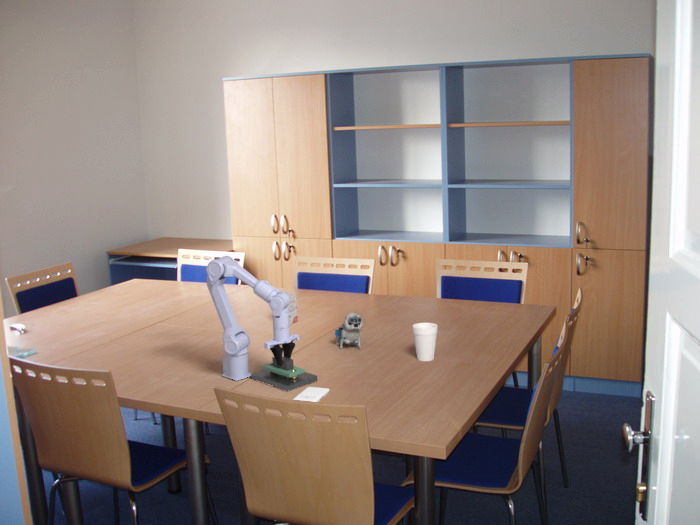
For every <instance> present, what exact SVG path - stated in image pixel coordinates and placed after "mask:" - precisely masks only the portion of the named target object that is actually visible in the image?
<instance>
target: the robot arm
mask: <svg viewBox="0 0 700 525" xmlns="http://www.w3.org/2000/svg"><path fill="white" fill-rule="evenodd" d="M205 272H206V287H207V289H208V292H209V295H210V297H211V300H212V302H213V305H214V307H215V310H216V312H217V315H218V318H219V320H220V321H219V322H220V323H221V325H222V328H223V333H222V341H223V350H224V354H223V356H222V368H223V371H222V372H223V373H222V374H221V376H222V377H224V378H227V379H229V378H230V380H232V379H233V381H236V382H239V381H242V380H244V379H248V378H251V377H250V376H251V374H252V373H251V372H250V371H249V370H250V369H249V354H248V352H249V351H248V347H249V346H250V344H251V338H250V336H249V335H248V334H247V332H246V331H245V329H244V327H242V326H241V325H240V324H239V323H238V320H237V317H236V315H235V312H234V310H233V307H232V304H231V302H230V298H229V297H228V294H227V292H226V289H225V287H224V283H225V281H226V279H227V277H228V278H230V277H232V278H233V277H234V278H236V279H238V280H240V281H241V282H242V283H244V284H246V285H247V286H248V287H250V288H252V290H253V294H255V295H256V296H258V297H259V298H260V299H262V301H265V302H266V303H267V304H268V307H269V308H270V310H271V311H272V331H273V339H270V340H268V341H266V342H264V343H263V348H264V349H265V350H270V351H271V353H272V355H273V357H275V360H276V363H277V365H279V366H282V356H283V357H286V358H289V359H292V354H293V351H294V349H295V347H296V343H295V341H297V342H298V341H300V335H299V334H297V333H295V334H291V333H290V332H291V331H290V325H289V310H288V306H289V304H290V302H291V299H290V297H291V295H288V293H287V292H286V291H283V290H282V291H281V290H280V289H279V288H275V287H274V286H273V285H271V284H270V282H269V281H268V280H264V279H260V280H259V279H258V278H256V276H254V275H252V274H251V273H250V272H249V271H248V270H246V269H245V267H242V266H241V265H240V264H239V262H238V261H237V260H235V259H233V258H232V257H231V256H230V255H224V256H221V257H219V258H216V259H212V260H210V261H209V262H208V264H207V265H206V268H205ZM286 307H287V308H286ZM247 377H248V378H247ZM241 379H242V380H241ZM238 380H239V381H238Z"/></svg>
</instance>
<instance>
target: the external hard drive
mask: <svg viewBox="0 0 700 525" xmlns="http://www.w3.org/2000/svg"><path fill="white" fill-rule="evenodd" d="M329 391H330V388H327V387H326V388H325V387H316V386H307V387H306V388H304V390H302V391H301V392H300V393H298V394H297V395H296V396H295V397H294V398H293V399H292V400H300V401H310V402H317V403H318V402H319V401H321V400H320V399H321V398H322V397H323V396H324V397H326V395H327V394H329V393H330V392H329ZM328 392H329V393H328ZM324 397H323V398H324ZM323 398H322V399H323Z"/></svg>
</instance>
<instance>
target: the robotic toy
mask: <svg viewBox="0 0 700 525" xmlns="http://www.w3.org/2000/svg"><path fill="white" fill-rule="evenodd" d="M360 315H361V313H360V312H358V313H357V312H355V311H353V312H349V313H347V315H346V316H345V317H344V321H343V323H342V324H341V325H340V327H338V329H335V330H334V335H335V336H336V338H337V339H336V343H335V344H336V346H339V349H340V350H343V344H346V345H357V348H358V349H359V350H360V349H362V346H361V338H362V332H363V330H362V329H363V328H365V326H363V323H366V320H365V318H363V319H362V317H363V316H360ZM363 320H364V321H363Z"/></svg>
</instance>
